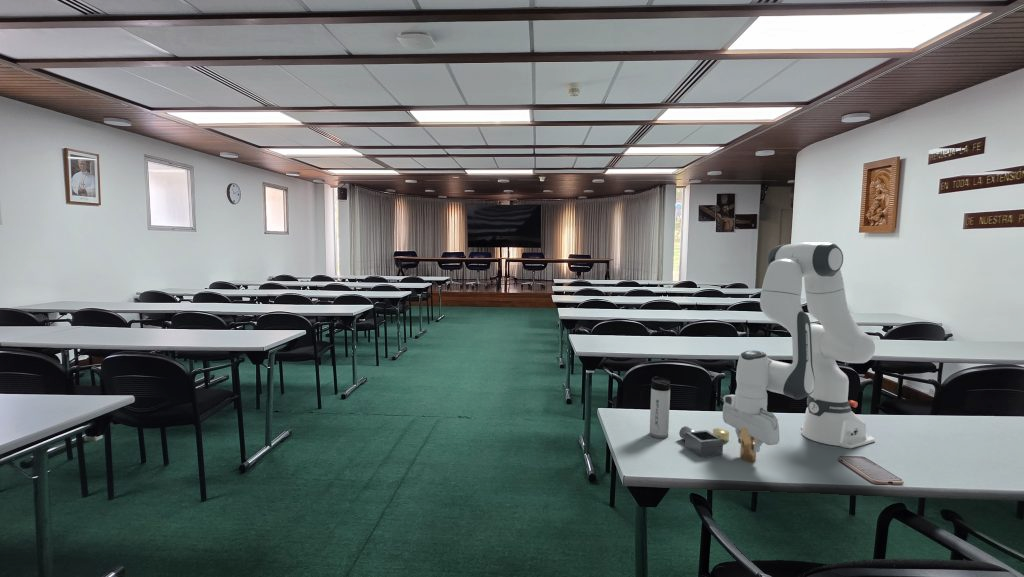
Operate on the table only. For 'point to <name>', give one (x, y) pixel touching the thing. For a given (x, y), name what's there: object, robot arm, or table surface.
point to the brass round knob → (721, 434)
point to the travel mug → (659, 407)
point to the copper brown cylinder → (747, 446)
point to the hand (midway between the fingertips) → (748, 447)
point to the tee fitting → (702, 442)
